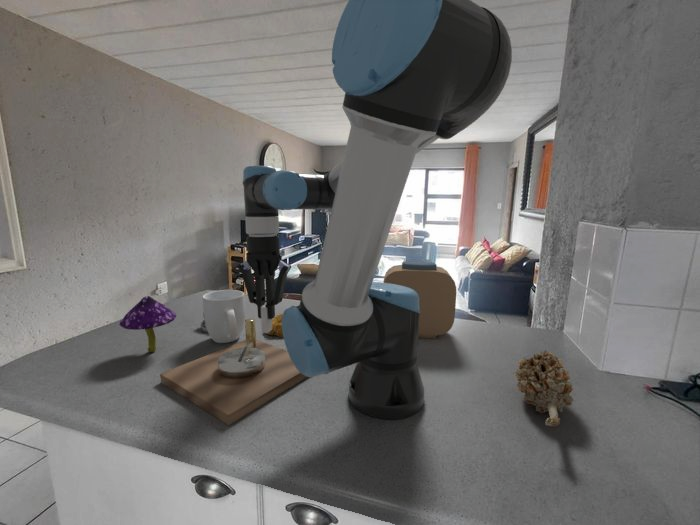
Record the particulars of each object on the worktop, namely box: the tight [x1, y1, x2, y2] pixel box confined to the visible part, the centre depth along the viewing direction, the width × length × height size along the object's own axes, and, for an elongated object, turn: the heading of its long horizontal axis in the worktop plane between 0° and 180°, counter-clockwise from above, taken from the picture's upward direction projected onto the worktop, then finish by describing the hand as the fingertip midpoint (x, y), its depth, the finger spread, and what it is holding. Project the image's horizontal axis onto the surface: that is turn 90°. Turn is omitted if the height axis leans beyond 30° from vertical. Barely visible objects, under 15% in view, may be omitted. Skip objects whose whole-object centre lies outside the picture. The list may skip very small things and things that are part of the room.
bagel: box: [265, 313, 283, 338], centre depth 100 cm, size 10×11×5 cm
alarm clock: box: [382, 261, 457, 339], centre depth 99 cm, size 21×10×22 cm, turn 82°
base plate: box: [159, 339, 309, 426], centre depth 74 cm, size 24×24×2 cm
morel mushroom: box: [514, 350, 575, 427], centre depth 61 cm, size 22×10×10 cm, turn 161°
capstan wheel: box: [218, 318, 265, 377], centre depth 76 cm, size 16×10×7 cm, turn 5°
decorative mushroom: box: [119, 295, 177, 353], centre depth 84 cm, size 12×12×15 cm
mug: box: [202, 289, 246, 344], centre depth 92 cm, size 15×11×13 cm
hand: (267, 330), depth 81 cm, fingers closed
